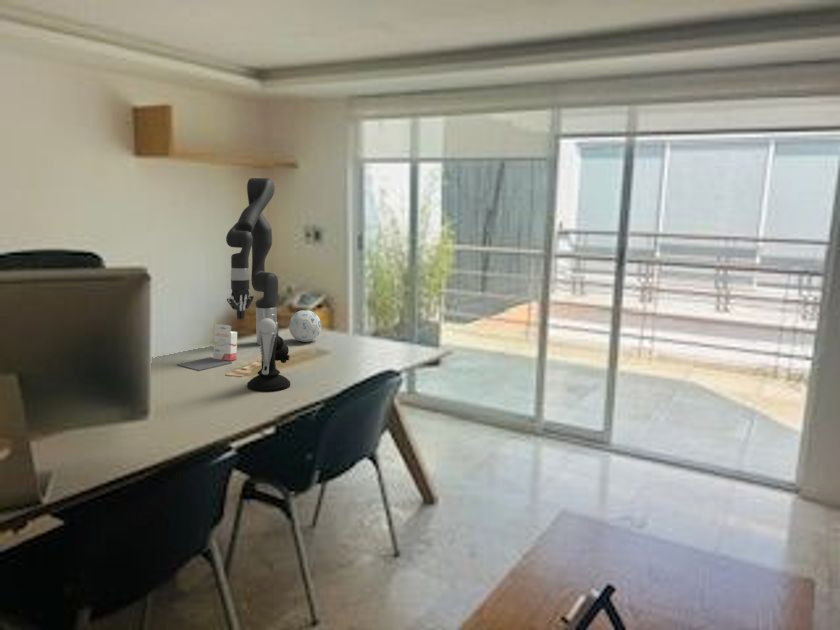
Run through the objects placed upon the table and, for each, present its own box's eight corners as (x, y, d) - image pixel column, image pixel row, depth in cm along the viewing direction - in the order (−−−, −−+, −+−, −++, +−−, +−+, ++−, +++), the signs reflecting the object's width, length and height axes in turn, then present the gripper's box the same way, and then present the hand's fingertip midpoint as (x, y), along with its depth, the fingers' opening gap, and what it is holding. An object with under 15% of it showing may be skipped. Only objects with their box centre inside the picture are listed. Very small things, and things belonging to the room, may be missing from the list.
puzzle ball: (300, 346, 302) (299, 314, 299) (283, 340, 313) (282, 309, 310) (327, 342, 312) (327, 310, 309) (310, 336, 323) (309, 306, 320)
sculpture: (240, 390, 232) (238, 320, 227) (265, 373, 255) (264, 309, 250) (282, 393, 230) (281, 323, 225) (303, 375, 253) (302, 311, 248)
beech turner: (251, 363, 269) (251, 360, 269) (267, 364, 268) (267, 361, 267) (225, 375, 250) (225, 372, 250) (241, 377, 249) (241, 374, 248)
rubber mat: (210, 357, 276) (210, 356, 276) (232, 363, 269) (232, 362, 269) (177, 365, 263) (177, 364, 263) (199, 371, 256) (199, 370, 256)
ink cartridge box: (237, 359, 275) (238, 324, 273) (230, 361, 270) (231, 325, 269) (219, 356, 278) (220, 322, 276) (212, 358, 273) (213, 323, 271)
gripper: (246, 276, 283) (247, 316, 286) (221, 278, 272) (222, 320, 275) (258, 278, 279) (258, 318, 282) (233, 280, 268) (234, 322, 271)
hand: (240, 319), depth 279 cm, fingers closed
